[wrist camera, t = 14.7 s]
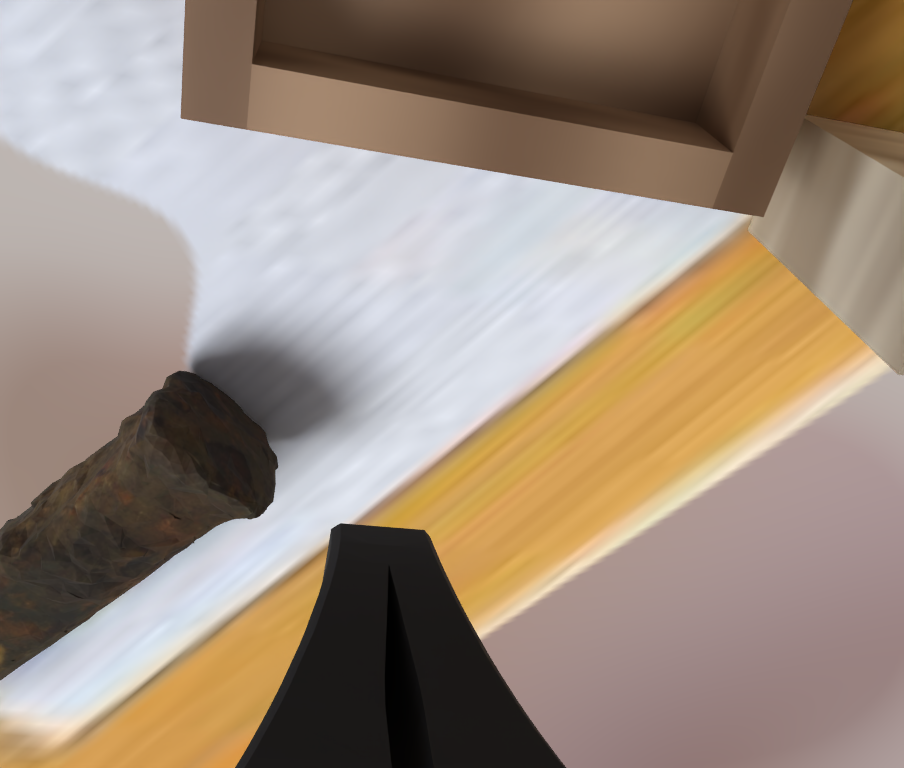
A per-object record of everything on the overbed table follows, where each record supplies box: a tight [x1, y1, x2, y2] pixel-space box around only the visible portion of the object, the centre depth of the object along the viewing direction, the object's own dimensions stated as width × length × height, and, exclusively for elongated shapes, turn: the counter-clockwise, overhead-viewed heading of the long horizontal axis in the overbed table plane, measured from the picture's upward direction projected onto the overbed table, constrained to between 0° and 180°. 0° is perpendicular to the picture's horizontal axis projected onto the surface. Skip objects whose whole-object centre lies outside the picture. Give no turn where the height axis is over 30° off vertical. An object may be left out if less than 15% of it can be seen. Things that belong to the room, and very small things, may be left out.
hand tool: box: [0, 371, 278, 680], centre depth 23 cm, size 19×4×5 cm, turn 125°
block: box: [748, 115, 904, 375], centre depth 18 cm, size 3×3×7 cm
